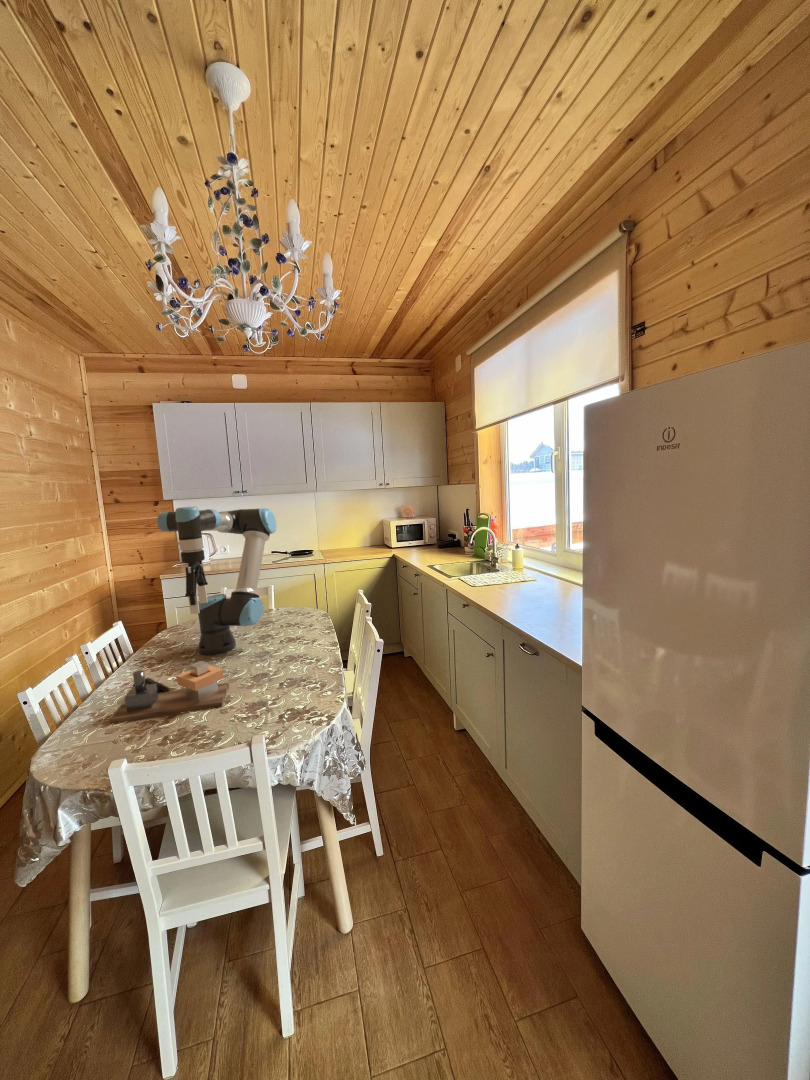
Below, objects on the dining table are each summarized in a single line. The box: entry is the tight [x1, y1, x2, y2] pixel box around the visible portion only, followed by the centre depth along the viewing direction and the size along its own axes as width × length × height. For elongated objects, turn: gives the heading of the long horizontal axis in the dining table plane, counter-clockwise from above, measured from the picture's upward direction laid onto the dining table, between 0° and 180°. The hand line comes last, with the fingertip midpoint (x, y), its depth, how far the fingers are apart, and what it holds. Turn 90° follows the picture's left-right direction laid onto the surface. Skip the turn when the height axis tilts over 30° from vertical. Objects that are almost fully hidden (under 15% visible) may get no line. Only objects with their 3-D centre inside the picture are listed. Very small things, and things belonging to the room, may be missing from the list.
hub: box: [184, 660, 219, 703], centre depth 145 cm, size 7×7×11 cm
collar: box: [176, 664, 225, 691], centre depth 145 cm, size 10×10×3 cm
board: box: [109, 682, 230, 725], centre depth 144 cm, size 14×32×2 cm, turn 103°
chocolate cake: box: [132, 677, 171, 693], centre depth 153 cm, size 10×7×12 cm
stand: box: [124, 669, 158, 712], centre depth 141 cm, size 7×7×11 cm
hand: (199, 608), depth 159 cm, fingers open, 13 cm apart
